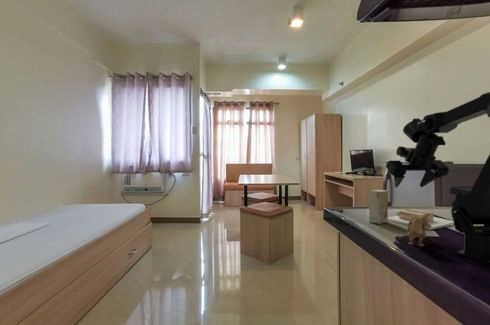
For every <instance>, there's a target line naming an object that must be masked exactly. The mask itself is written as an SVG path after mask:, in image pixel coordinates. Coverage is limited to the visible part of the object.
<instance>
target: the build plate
mask: <svg viewBox="0 0 490 325" xmlns="http://www.w3.org/2000/svg"><path fill="white" fill-rule="evenodd" d="M388 221H389V222H393V223H396V224H400V225H405V226H408V223H409V222H410V221H408V220H404V219H400V218H399V215H395V216H388ZM427 223H428V224H429V225H431V228H430V229H429V231H432V230H437V229H443V228H445V226H446V227H449V226H448V225H451V224H454V221H453V220H451V219H445V218H440V217H436V216H433V221H429V222H427ZM451 226H452V225H451Z"/></svg>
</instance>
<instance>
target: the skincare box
mask: <svg viewBox="0 0 490 325" xmlns="http://www.w3.org/2000/svg"><path fill="white" fill-rule="evenodd" d="M368 197H369V198H368V199H369V200H368V201H369V202H368V204H369V205H368V210H369V211H368V213H369V214H368V221H369V223H373V224H379V225H381V224H384V223H388V217H389V216H388V212H389V209H388V208H389V206H388V205H389V191H388V190H386V189H385V190H384V189H371V190H369V196H368Z"/></svg>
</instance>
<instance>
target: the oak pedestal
mask: <svg viewBox="0 0 490 325" xmlns="http://www.w3.org/2000/svg"><path fill="white" fill-rule="evenodd" d="M398 216H399V218H400V219H404V220H408V221H410V220H411V219H412V218H413V217H415V216H423V217H424V218H425V221H426V222H429V221H433V217H434V212H431V211H425V210H420V209H416V208H409V209H402V210H399V211H398Z"/></svg>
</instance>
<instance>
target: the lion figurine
mask: <svg viewBox="0 0 490 325" xmlns="http://www.w3.org/2000/svg"><path fill="white" fill-rule="evenodd" d="M430 228H431V225H429V224H428V223H427V222H426V221H425V218H424V217H423V216H415V217H413V218H412V219H411V220H410V222H409V223H408V225H407V229H408V238H409V242H408V245H409V244H411V245H410V246H413V245H414V243H415V242H414V239H415V237H417V238H419V239H418V246H420V247H425V244H424V243H423V242H424V239H426V238H427V236H426V232H428V233H429V231H430V230H429V229H430Z"/></svg>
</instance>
